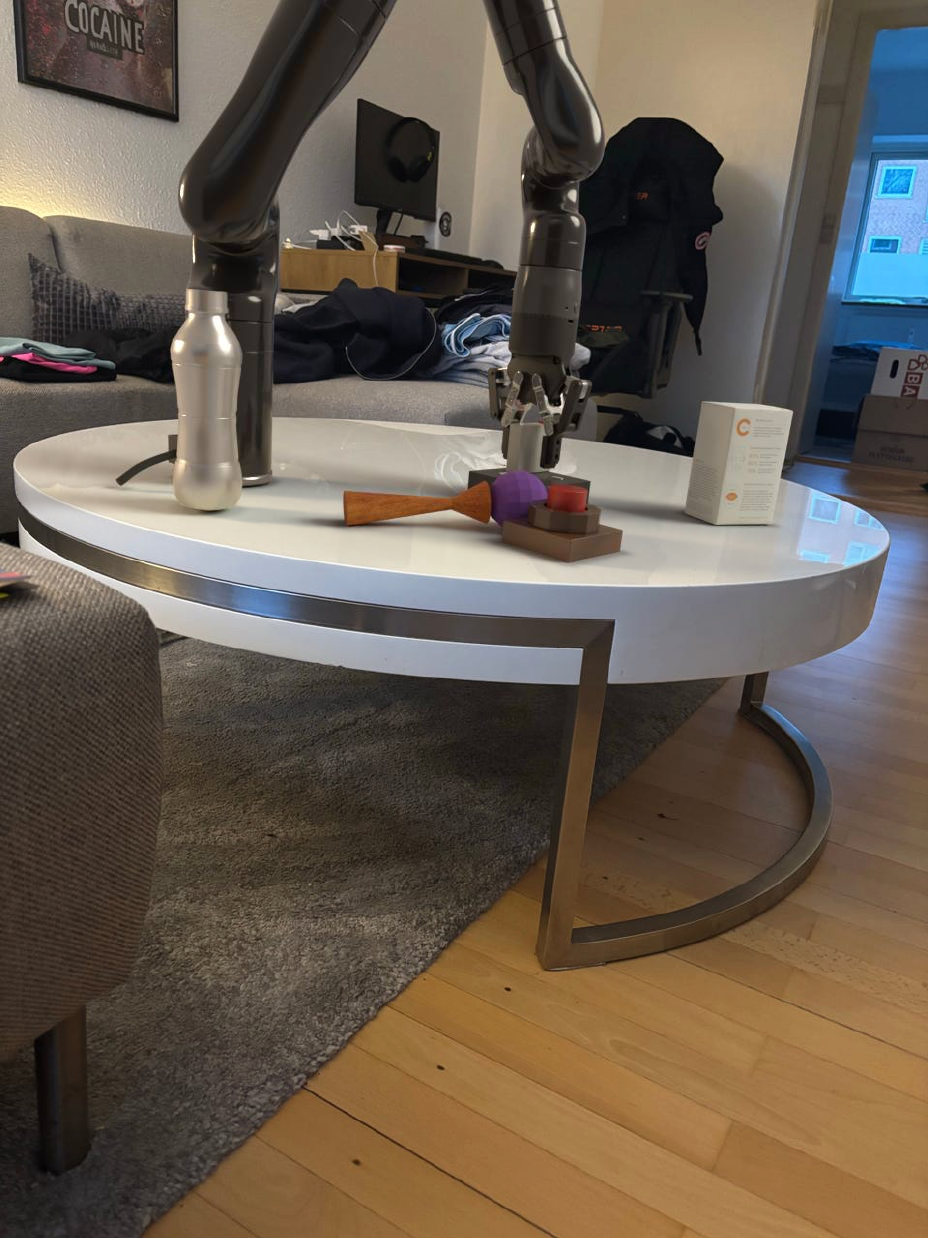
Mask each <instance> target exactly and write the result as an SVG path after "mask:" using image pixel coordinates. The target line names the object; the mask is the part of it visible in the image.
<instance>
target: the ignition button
mask: <svg viewBox="0 0 928 1238" xmlns="http://www.w3.org/2000/svg"><path fill="white" fill-rule="evenodd" d="M586 499H587V489H585V488H582V487H578V486H573V485H563V484H554V485H550V486H549V487H548V495H547V504H546V507H548V508H551V509H555V510H562V511H572V512H581V511H585V506H586Z"/></svg>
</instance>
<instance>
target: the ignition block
mask: <svg viewBox="0 0 928 1238" xmlns="http://www.w3.org/2000/svg"><path fill="white" fill-rule="evenodd" d="M546 504H547V499H540V500H533V501H532V502H531V503H530V506H529V515H528V517H525V518H518V519H512V520H505V521H503V528H502V531H501V539H500V542H501V543H503V544H505V545H509V546H512V547H515V548H517V549H518V548H519V549H520V550H521V549H522V550H525V551H527V552H531V553H535V554H537V555H541V556H544V557H547V558H551V559H554V560H557V561H561V562H563V563H567V564H569V563H574V562H579V561H584V560H589V559H594V558H598V557H602V556H603V557H604V556H607V555H613V554H617V553H620V552H621V547H622V540H623V532H624V530H623V529H619V528H615V527H612V526H608V525H605V524H602V523H601V519H602V518H601V516H602V509H601V508H600V507H597V506H596V505H594V504H590V503H588V504H586V506H585V511H581V512H572V511H562V510H555V509H551V508H548V507H546Z"/></svg>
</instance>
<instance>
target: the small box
mask: <svg viewBox="0 0 928 1238" xmlns="http://www.w3.org/2000/svg"><path fill="white" fill-rule="evenodd" d="M699 411H700V412H699V418H698V424H697V431H696V437H695V443H694V449H693V455H692V462H691V469H690V475H689V481H688V489H687V495H686V501H685V507H684V513H685V515H687V516H691V517H692V518H693V517H694V518H696V519H698V520H701V521H703V522H706V523H709V524H711V525H715V526H721V525H723V526H725V525H727V526H729V525H772V524H773V519H774V514H775V507H776V503H777V498H778V492H779V488H780V484H781V483H780V482H781V479H782V478H781V477H782V471H783V467H784V461H785V456H786V450H787V445H788V440H789V435H790V429H791V424H792V419H793V415H794V411H793V410H792V409H791V410H790V409H787V408H782V407H779V406H778V407H777V406H772V405H766V404H759V403H742V402H741V403H740V402H722V401H721V402H719V401H704V400H703V401H701V405H700V410H699Z"/></svg>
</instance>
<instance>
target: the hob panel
mask: <svg viewBox="0 0 928 1238" xmlns="http://www.w3.org/2000/svg"><path fill="white" fill-rule="evenodd" d="M494 465H497V466H501V467H497V468H496V467H495V468H486V469H476V470H475V469H474V470H473V469H472V470H468V476H467V487H466V488H467V489H466V490H468V489H470V488H472V487H474V486H476V485H477V484H479V483H481V482H483V481H486V482H487V483H488V485H489V488H490V486H491V485H492V484H493V483H494V482H495V480H496V479H497V478H498V477H499V476H501V475H503V474H505V473H507V472H506V464H504V463H499V462H495V464H494ZM553 470H557V468H556V467H555V468H551V469H550V471H545V472H534V473H530V474H533V475H535V476H536V477H537V478H538V479H539V480H540V481H541V482H542V483H543V484H544V486H545V488H546V492H547V495H548V487H549V486H550V485H554V484H563V485H573V486H578V487H582V488H585V489H587V499H586V504H589V497H590V491H591V490H590V489H591V484H592V483H591V482H592V481H591V480H589V479H584V478H583V479H582V478H579V477H575V476H570V475H567V474H562V473H557V472H553Z"/></svg>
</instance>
